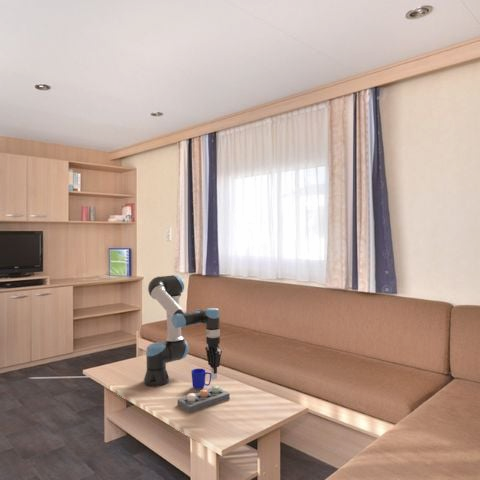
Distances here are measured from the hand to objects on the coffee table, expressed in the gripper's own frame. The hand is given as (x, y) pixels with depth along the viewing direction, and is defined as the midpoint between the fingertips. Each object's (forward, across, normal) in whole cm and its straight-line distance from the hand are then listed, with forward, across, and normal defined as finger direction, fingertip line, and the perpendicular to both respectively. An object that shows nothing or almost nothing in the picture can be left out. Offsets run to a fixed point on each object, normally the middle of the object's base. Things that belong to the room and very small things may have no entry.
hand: (214, 378), depth 217 cm
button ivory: (+8, 0, -15) cm, 17 cm away
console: (+11, 0, -7) cm, 13 cm away
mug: (+11, -17, +3) cm, 20 cm away
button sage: (+8, 0, +1) cm, 8 cm away
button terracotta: (+8, 0, -7) cm, 11 cm away
